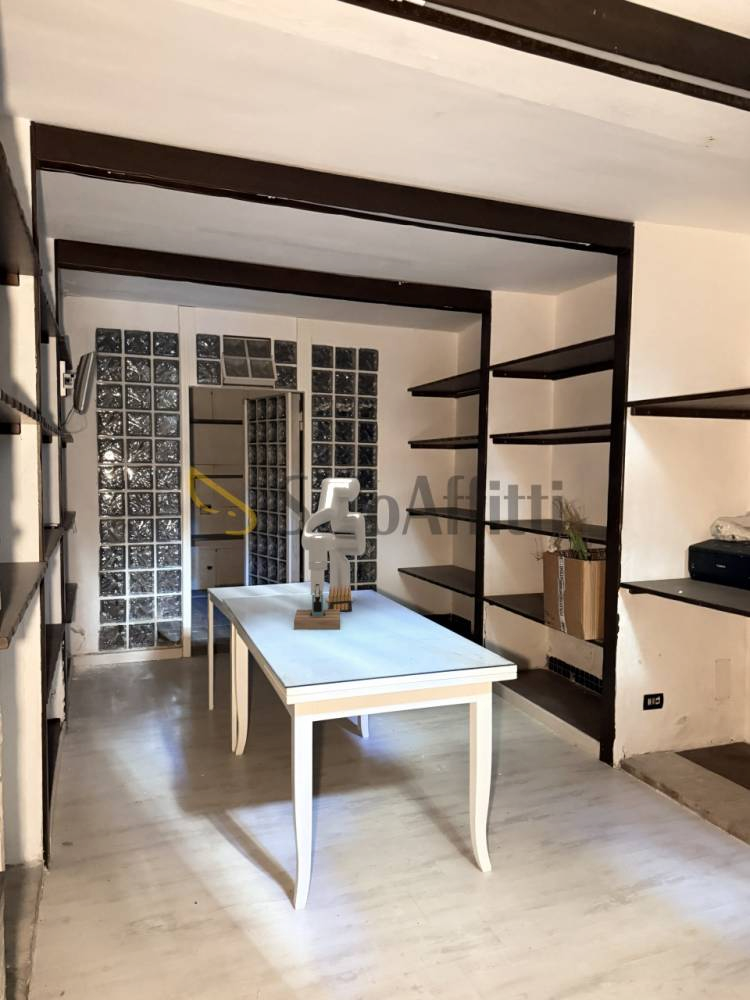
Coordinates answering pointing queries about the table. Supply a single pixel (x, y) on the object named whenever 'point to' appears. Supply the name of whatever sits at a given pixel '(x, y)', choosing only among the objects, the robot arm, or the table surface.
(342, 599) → the ammunition clip
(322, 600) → the peg
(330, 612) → the socket block
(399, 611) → the table surface
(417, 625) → the table surface
